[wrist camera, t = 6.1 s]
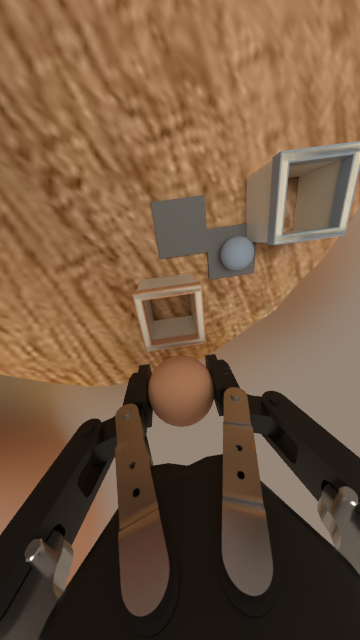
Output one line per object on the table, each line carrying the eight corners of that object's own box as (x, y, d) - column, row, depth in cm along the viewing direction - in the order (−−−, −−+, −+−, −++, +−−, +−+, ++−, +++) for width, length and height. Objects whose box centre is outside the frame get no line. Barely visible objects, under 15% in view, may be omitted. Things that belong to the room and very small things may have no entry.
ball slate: (216, 238, 26) (225, 238, 22) (246, 233, 27) (261, 233, 23) (217, 269, 28) (226, 275, 24) (245, 265, 28) (259, 270, 24)
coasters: (150, 202, 24) (150, 202, 24) (256, 188, 25) (257, 188, 24) (164, 285, 29) (164, 286, 29) (253, 272, 29) (254, 272, 29)
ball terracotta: (144, 348, 14) (137, 395, 10) (204, 339, 14) (221, 381, 10) (155, 393, 15) (153, 448, 11) (208, 384, 16) (224, 436, 12)
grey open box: (140, 279, 28) (132, 294, 21) (191, 271, 29) (201, 284, 21) (150, 325, 32) (146, 352, 24) (196, 318, 32) (206, 343, 25)
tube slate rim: (245, 176, 24) (280, 151, 17) (305, 168, 24) (366, 140, 17) (244, 242, 27) (273, 245, 20) (297, 235, 28) (345, 235, 20)
